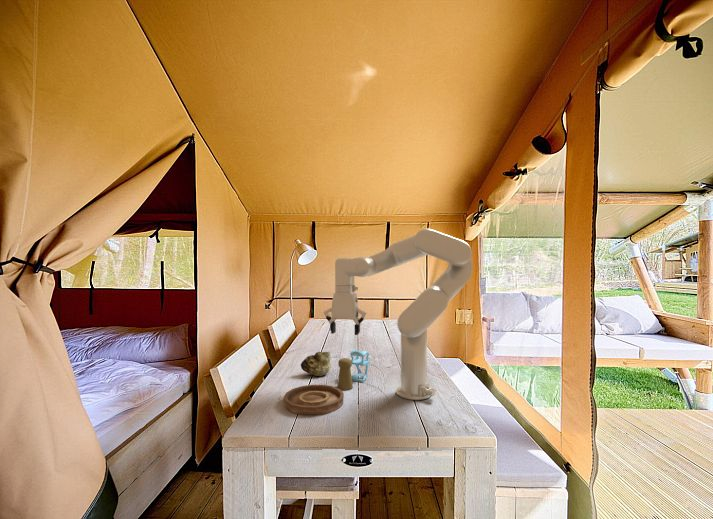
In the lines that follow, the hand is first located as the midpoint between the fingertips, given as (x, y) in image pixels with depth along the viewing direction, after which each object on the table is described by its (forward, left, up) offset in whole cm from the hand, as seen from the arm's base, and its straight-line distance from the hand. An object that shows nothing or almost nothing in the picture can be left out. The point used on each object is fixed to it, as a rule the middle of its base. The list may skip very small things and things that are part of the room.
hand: (344, 333), depth 129 cm
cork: (-1, +1, -21) cm, 21 cm away
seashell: (+19, -1, -21) cm, 28 cm away
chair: (+3, -11, -21) cm, 24 cm away
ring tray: (-4, +18, -20) cm, 27 cm away
